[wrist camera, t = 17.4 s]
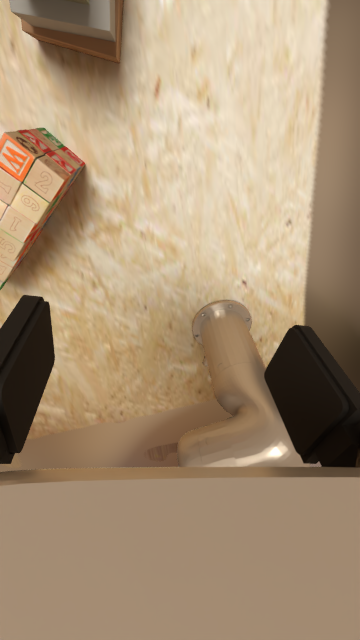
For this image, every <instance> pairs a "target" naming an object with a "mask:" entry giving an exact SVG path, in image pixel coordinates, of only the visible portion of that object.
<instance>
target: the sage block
mask: <svg viewBox="0 0 360 640" xmlns="http://www.w3.org/2000/svg"><path fill="white" fill-rule="evenodd" d="M66 1H71V2H76V3H81V4H86V5H90V3H89V0H66Z"/></svg>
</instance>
